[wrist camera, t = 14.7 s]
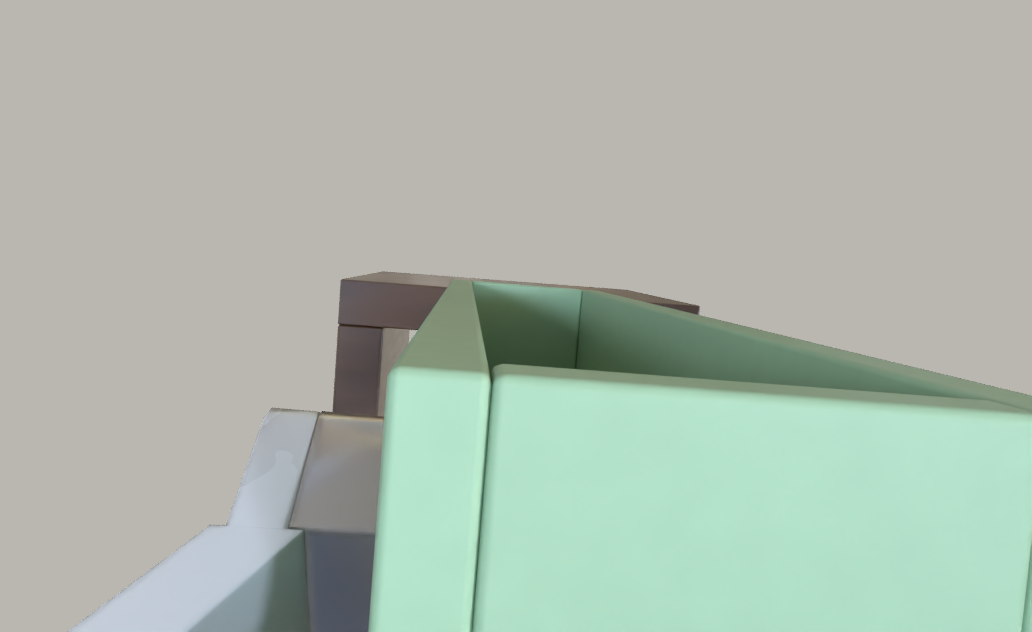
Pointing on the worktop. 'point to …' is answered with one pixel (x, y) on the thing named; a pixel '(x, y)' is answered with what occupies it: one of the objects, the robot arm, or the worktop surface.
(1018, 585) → the storage tray
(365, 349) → the shelf stand
